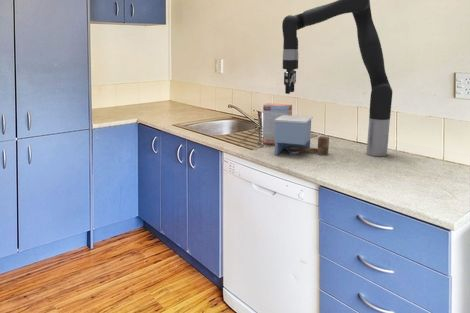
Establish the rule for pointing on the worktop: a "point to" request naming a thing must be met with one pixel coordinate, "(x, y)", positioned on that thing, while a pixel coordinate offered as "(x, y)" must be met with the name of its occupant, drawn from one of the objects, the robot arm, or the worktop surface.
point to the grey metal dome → (294, 152)
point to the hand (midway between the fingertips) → (289, 92)
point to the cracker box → (268, 120)
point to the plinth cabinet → (292, 132)
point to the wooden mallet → (322, 148)
